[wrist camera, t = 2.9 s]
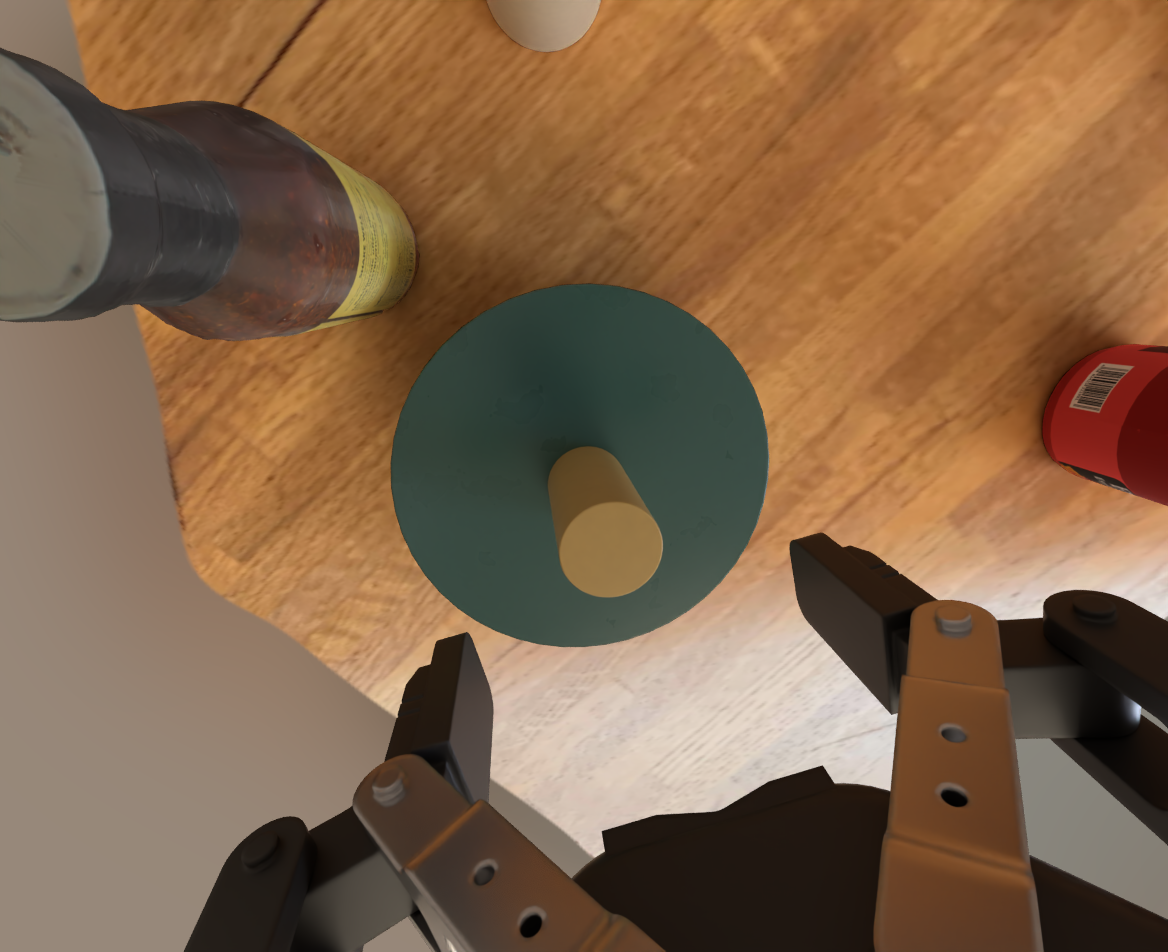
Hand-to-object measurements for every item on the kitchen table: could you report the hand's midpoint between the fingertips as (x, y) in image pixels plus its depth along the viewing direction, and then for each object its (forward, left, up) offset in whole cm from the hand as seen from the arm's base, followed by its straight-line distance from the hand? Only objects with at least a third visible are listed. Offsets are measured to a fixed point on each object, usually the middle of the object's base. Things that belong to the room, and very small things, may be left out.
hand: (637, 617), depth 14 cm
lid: (0, 0, -11) cm, 11 cm away
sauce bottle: (-12, -8, -19) cm, 23 cm away
